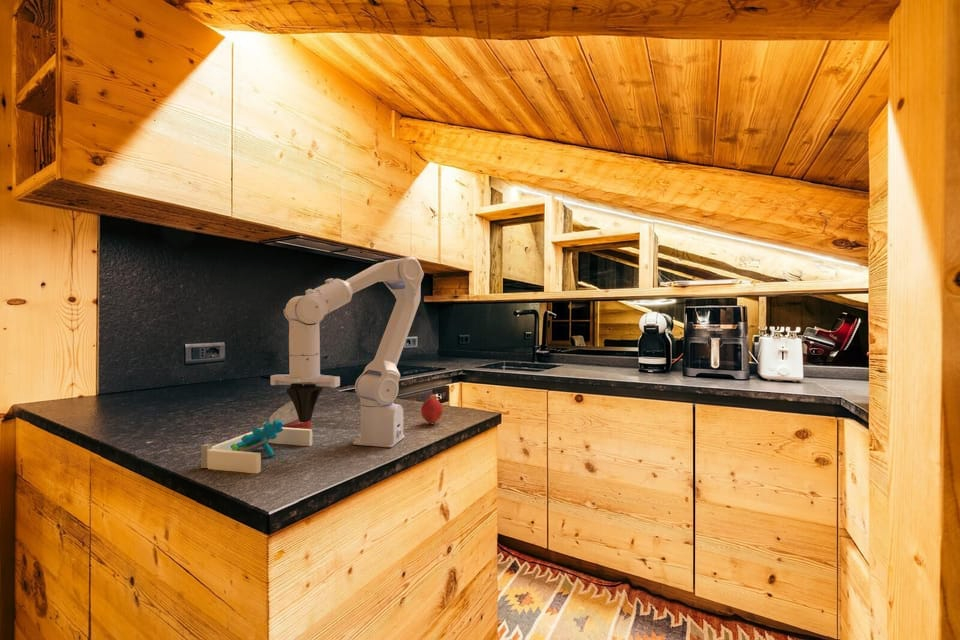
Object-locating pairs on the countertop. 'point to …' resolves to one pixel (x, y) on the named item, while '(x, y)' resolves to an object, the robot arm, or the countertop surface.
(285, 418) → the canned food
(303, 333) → the robot arm
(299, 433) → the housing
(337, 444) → the countertop surface
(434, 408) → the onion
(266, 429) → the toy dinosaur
